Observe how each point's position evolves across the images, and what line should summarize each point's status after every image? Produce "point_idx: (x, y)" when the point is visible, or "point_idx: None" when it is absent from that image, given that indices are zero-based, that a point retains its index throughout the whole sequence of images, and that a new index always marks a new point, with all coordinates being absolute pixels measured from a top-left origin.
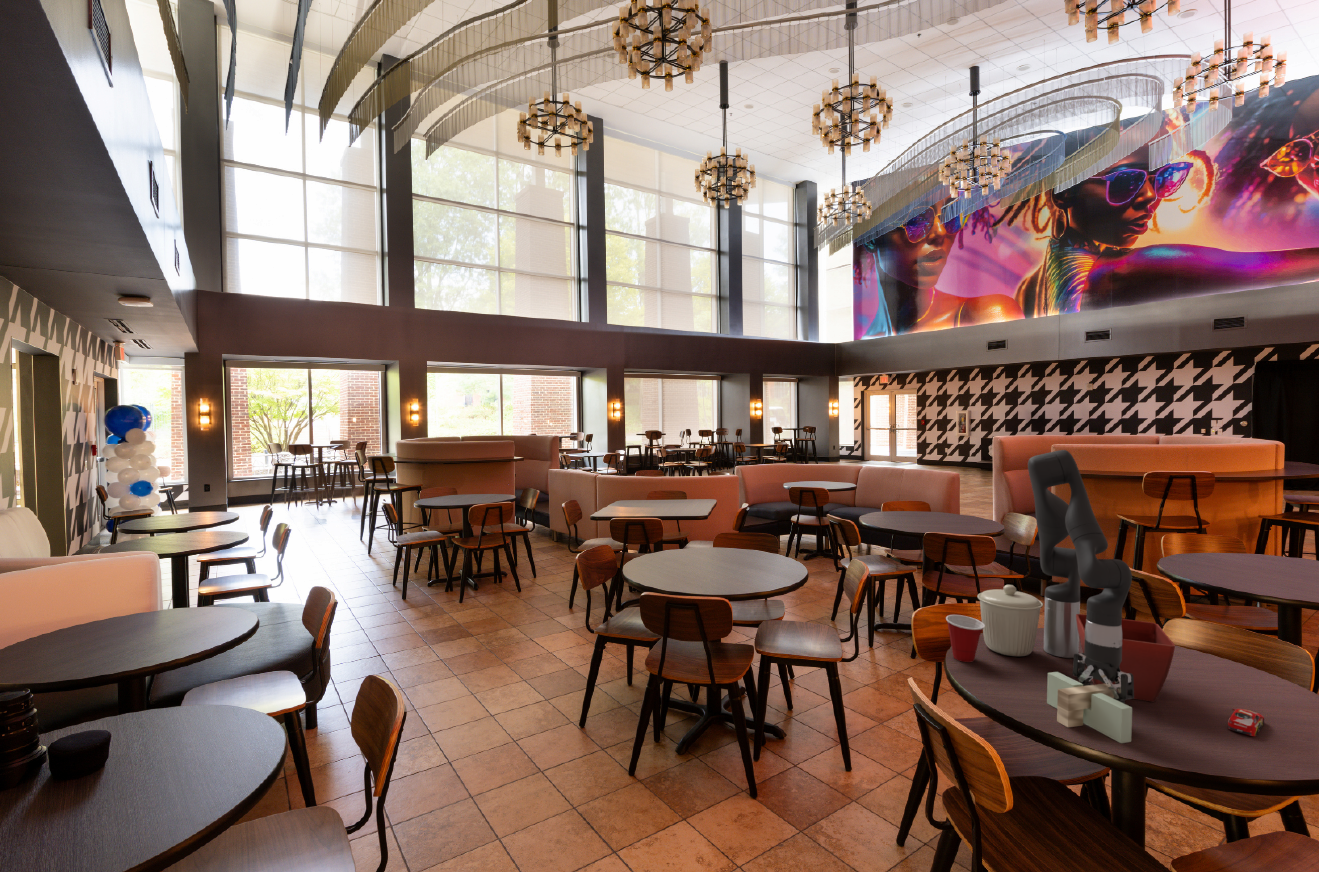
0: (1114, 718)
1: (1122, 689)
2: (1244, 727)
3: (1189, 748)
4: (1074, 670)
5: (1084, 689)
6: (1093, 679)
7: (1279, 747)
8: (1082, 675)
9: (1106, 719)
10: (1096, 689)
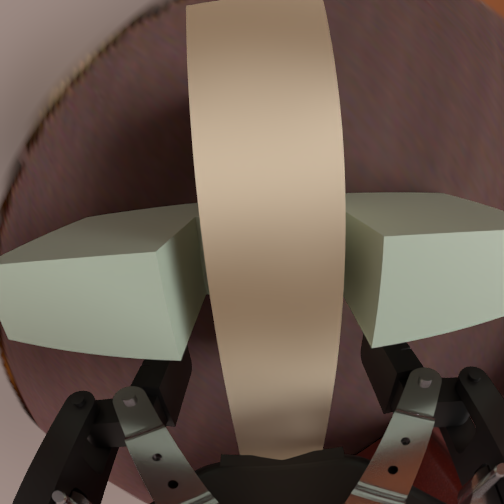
0: (52, 237)
1: (67, 440)
2: None
3: (86, 384)
4: (487, 394)
5: (272, 273)
6: (433, 435)
7: (128, 483)
8: (428, 409)
9: (105, 226)
10: (251, 375)
